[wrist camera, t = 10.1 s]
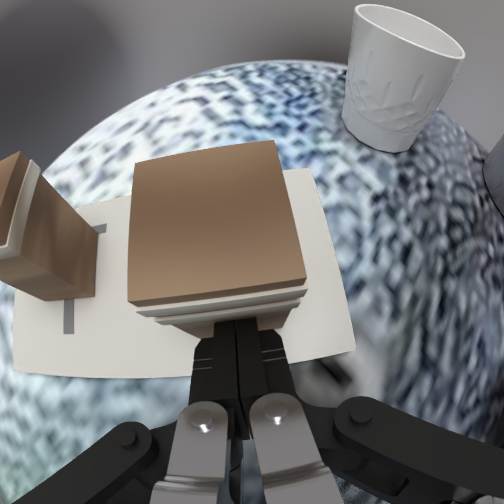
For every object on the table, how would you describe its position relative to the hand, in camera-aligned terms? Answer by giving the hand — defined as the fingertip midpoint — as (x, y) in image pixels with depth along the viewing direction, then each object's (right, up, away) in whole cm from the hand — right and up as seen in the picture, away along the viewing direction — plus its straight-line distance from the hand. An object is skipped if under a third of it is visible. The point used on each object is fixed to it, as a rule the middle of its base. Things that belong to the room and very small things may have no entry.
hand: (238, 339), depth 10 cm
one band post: (-11, +2, +5) cm, 12 cm away
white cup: (+11, +14, +11) cm, 21 cm away
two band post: (0, +1, +4) cm, 4 cm away
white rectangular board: (-5, +1, +6) cm, 8 cm away
